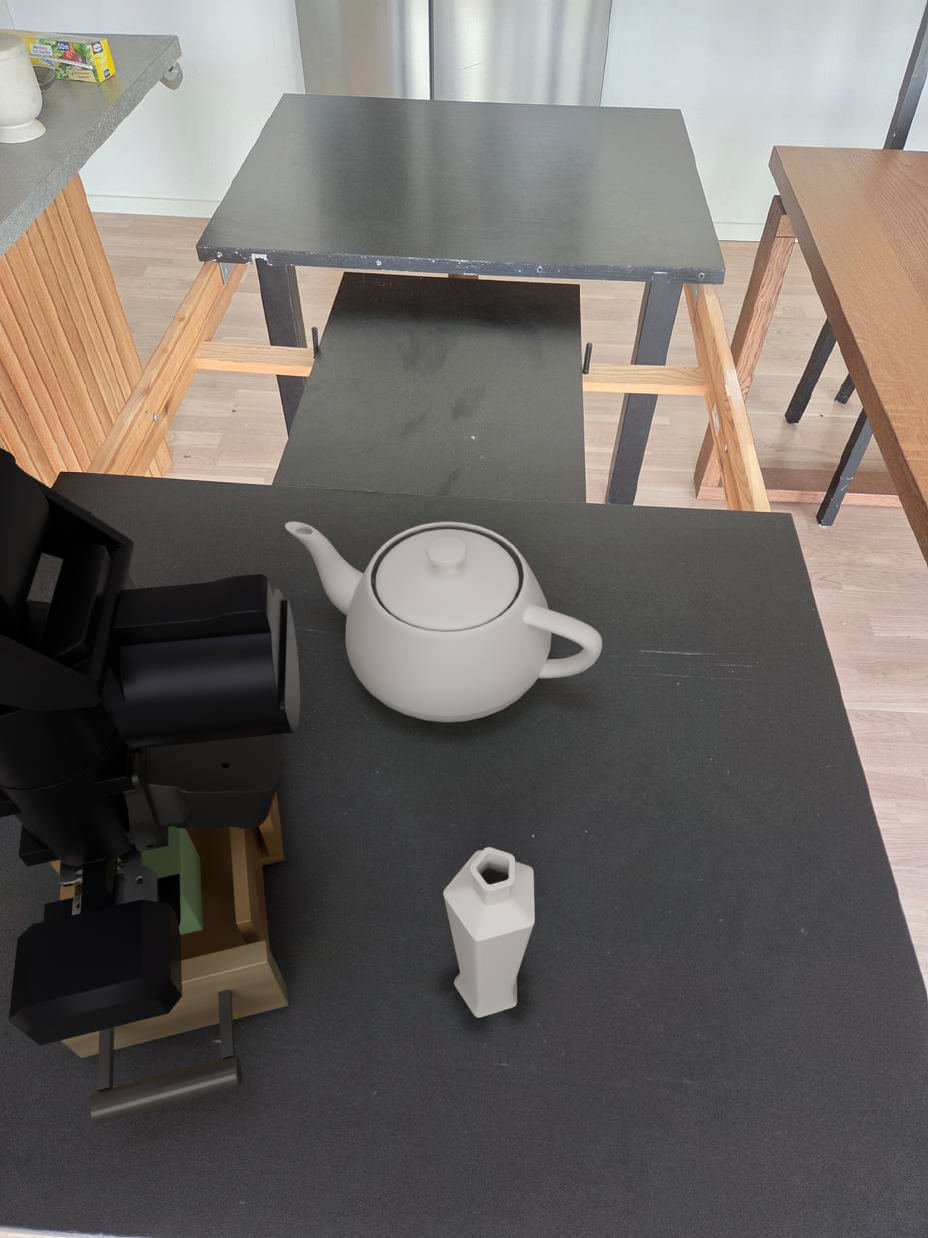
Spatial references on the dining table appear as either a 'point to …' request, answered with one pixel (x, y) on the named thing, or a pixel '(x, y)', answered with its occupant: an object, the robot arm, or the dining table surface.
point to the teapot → (447, 621)
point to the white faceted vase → (490, 928)
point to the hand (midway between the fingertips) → (154, 894)
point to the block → (187, 864)
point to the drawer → (200, 981)
